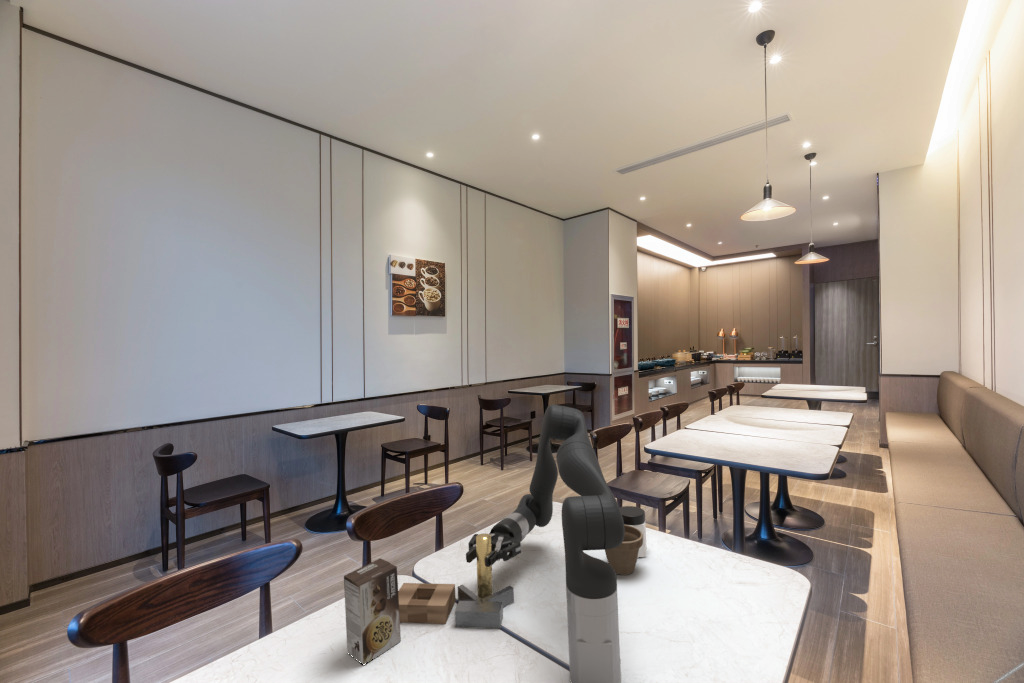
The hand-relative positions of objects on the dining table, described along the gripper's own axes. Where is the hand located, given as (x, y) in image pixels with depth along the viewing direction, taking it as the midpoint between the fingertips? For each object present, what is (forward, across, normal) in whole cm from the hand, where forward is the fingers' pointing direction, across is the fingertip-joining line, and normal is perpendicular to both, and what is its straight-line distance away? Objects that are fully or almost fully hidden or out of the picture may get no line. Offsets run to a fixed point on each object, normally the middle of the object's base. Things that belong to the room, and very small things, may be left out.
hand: (477, 560), depth 104 cm
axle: (-3, 0, +12) cm, 12 cm away
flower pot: (-31, +26, +12) cm, 42 cm away
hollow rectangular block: (+5, -12, +12) cm, 18 cm away
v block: (0, +1, +12) cm, 12 cm away
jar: (-42, +27, +12) cm, 51 cm away
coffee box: (+20, -14, +12) cm, 27 cm away
